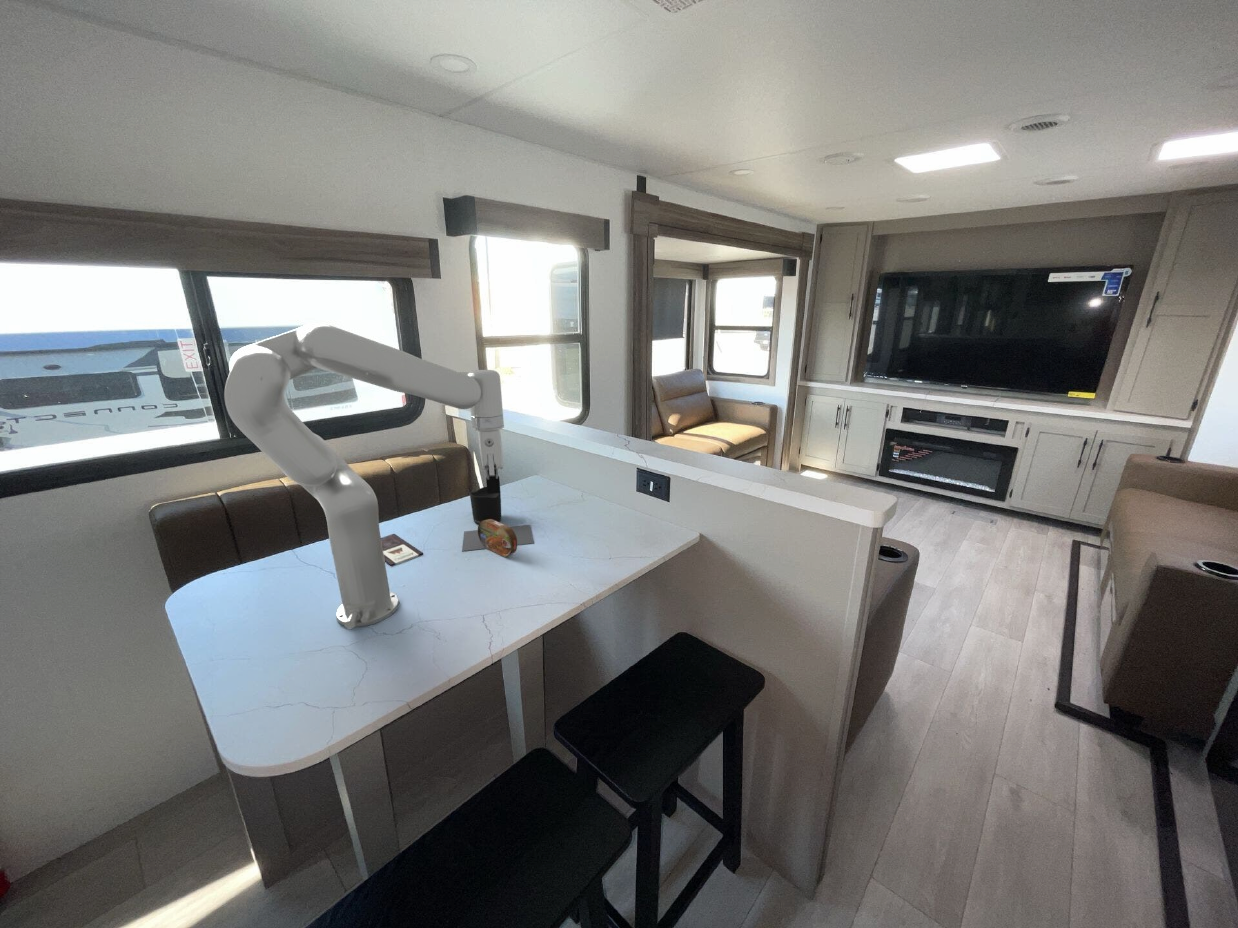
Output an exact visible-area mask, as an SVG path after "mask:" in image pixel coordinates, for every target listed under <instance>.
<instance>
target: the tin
mask: <svg viewBox="0 0 1238 928" xmlns="http://www.w3.org/2000/svg"><path fill="white" fill-rule="evenodd" d="M510 527H511V526H509V525H506V524H504V523H502V522H500V521H499V522H497V521H495V520H493V519H488V520H485V521H481V522H480V523H479V525H477V530H478V536H479V539H480V541H481V543H482V545H483V546H484V547H485V548H487V549H486V550H489V551H491V552H494V553H495V554H496V555H499V556H501V557H504V558H506V557H508V556H511V555H513V554H514V553H515V552H517V549H518V545H517V537H516V534H515V532H514V531H513V530H512V528H510Z"/></svg>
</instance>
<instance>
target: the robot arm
mask: <svg viewBox="0 0 1238 928" xmlns="http://www.w3.org/2000/svg"><path fill="white" fill-rule="evenodd" d="M228 366H229V373H228V377H227V378H226V382H225V387H224V394H223V396H224V403H225V407H226V411H227V414H228V416H229V418H230V419H231V421H232V423H234V425H235V426H236V427H237V428H238V429H239V430H240V432H242V434H243V435H244V436H246V438H248V440H250V441H251V442H252V443H253V444H254V446H256V448H258V449H259V450H260V451H261V452H262V453H263V454H264V455H265V456H266V458H268V459H270V461H272V463H274V464H275V466H277V467H278V468H279V469H280V470H281V472H282V473H283V474H284V475H285V476H286V477H287V478H288V479H289V480H291V481H292V482H294V483H296V484H297V485H300V486H301V487H302V488H304V490H306V492H308V493H309V494H310V495H311V496H312V497H313V498H315V499H316V500H317V502H318V503H319V504H320V506H321V507H322V509H323V512H324V515H325V517H326V518H325V519H326V522H327V523H326V524H327V532H328V538H329V539H328V540H329V545H330V549H331V554H332V557H333V563H334V567H335V572H336V578H337V583H338V588H339V593H340V598H341V603H342V604H341V605H340V606H339V607H338V608H337V610H336V613H335V617H336V621H337V622H338V624H340V625H343V626H344V627H345V628H346V629H348V630H352V629H354V628H357V627H365V626H370V625H374V624H376V623H379V622H381V621H383V620H386V619H388V618H389V617H390V616H392V615H393V614H394V613H395V611H396V610H397V609H398V608H399V605H400V600H399V596H398V595H397V594H396V593H394V592H392V591H390V585H389V578H388V572H387V568H386V563H385V560H384V554H383V547H382V542H381V538H382V537H381V531H380V530H381V529H380V519H379V504H378V498H377V496H376V493H375V492H374V489H373V488H372V487H371V486H370V484H368V482H366V480H365V479H364V478H362V476H360V475H359V474H358V473H357V472H356V471H355V470H354V469H353V468H351V466H350V465H349V464H348V463H347V462H346V461H345V460H344V459H343V458H342V457H341V456H340V455H339V454H338V453H337V452H336V451H335V450H334V449H333V448H332V447H331V446H330V444H329V443H327V441H325V440H324V439H323V438H322V437H321V436H320V435H318V434H316V433H315V432H313V431H312V430H311V428H310V429H309V427H308V426H307V425H306V424H305V423H304V422H303V421H302V420H301V419H300V417H299V416H298V415H297V414H296V413H294V412H293V410H292V409H291V408H290V407H289V406H288V404H287V402H286V399H285V391H286V390H287V388H288V385H289V383H290V381H291V380H293V379H297V378H299V377H301V376H303V375H306V374H308V373H312V372H313V371H315V370H318V369H320V370H323V371H327V372H330V373H333V374H337V375H340V376H343V377H348V378H349V379H354V380H358V381H360V382H363V383H367V384H371V385H372V386H373V385H374V386H377V387H379V388H384V389H386V390H391V391H392V392H393V391H394V392H397V393H402V394H407V395H412V396H416V397H419V398H422V399H425V400H429V401H433V402H436V403H438V404H439V403H440V404H443V405H446V406H449V407H452V408H456V409H459V410H470V419H471V420H470V421H471V428H472V430H473V431H477V436H478V437H477V438H478V446H479V454H480V461H481V464H482V469H483V471H486V473H485V474H486V478H485V481H486V483H485V484H486V487H487V493H488V494H495V493H500V492H501V483H500V476H499V469H500V470H503V468H504V457H503V455H504V454H503V446H502V443H503V442H502V435H501V430H503V429H504V428H505V423H504V422H505V421H504V411H503V397H502V384H501V375H500V374H499V372H498V371H496V370H494V369H493V370H492V369H477V370H472V371H456V370H453V369H451V368H448V367H446V366H442V365H439V364H437V363H434V362H431V361H429V360H425V359H422V358H420V357H417V356H415V355H413V354H410V353H408V352H406V351H404V350H401V349H398V348H396V347H392V346H390V345H386V344H384V343H381V342H377V341H375V340H372V339H370V338H367V337H365V336H363V335H362V336H361V335H358V334H355V333H353V332H350V331H347V330H344V329H342V328H340V327H336V326H333V325H328V324H325V323H309V324H305V325H303V326H300V327H298V328H295V329H292V330H289V331H286V332H283V333H281V334H278V335H276V336H275V335H274V336H271V337H269V338H266V339H263V340H261V341H258V342H254V343H252V344H248V345H246V346H243V347H241V348H239V349H238V350H237V351H235V352H234V353H233V354H232V356H231V357H230V360H229V365H228Z"/></svg>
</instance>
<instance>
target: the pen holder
mask: <svg viewBox="0 0 1238 928" xmlns="http://www.w3.org/2000/svg"><path fill="white" fill-rule="evenodd" d="M501 493H502V492H501V491H500V493H495V494H488V493H487V486H483V487H481V488H478V489H477V490H475V491H470V492H469V498H470V506H471V512H472V513H471V514H472V519H473V522H474V525H475V524H476V525H477V526H478V525H479V523H480V522H481V521H485V520H488V519H493V520H495V521H497V522H500V521H502V498H501V496H502V495H501Z"/></svg>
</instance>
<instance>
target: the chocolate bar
mask: <svg viewBox="0 0 1238 928" xmlns="http://www.w3.org/2000/svg"><path fill="white" fill-rule="evenodd" d="M381 542H382V547H383V554H384V560H385V564H387V565H388V566H389V567H394V566H397V565H399V564H402V563H405V562H407V561H410V560H413V559H416V558H417V557H421V556H422V555H424V552H423V551H421V550H420V549H418V548H417V547H416V546H413V545H412V544H410V543H409V542H408V541H406V540H405V539H403V538H402V537H400V535H397V534H396V533H392V534H389V535H386V536H383V537H381Z"/></svg>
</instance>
